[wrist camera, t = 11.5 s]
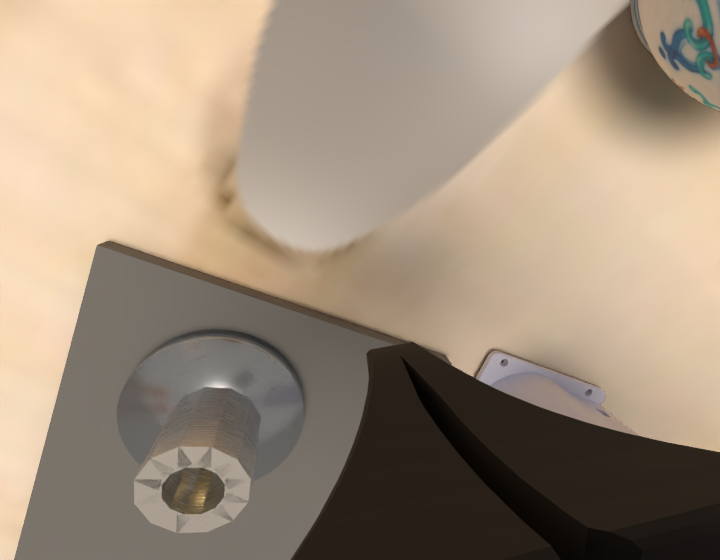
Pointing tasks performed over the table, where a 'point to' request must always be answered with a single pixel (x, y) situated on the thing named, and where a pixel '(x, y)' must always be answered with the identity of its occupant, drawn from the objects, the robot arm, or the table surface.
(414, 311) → the table surface
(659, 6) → the chinaware
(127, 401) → the hub
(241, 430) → the ridged pipe fitting
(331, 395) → the mat
